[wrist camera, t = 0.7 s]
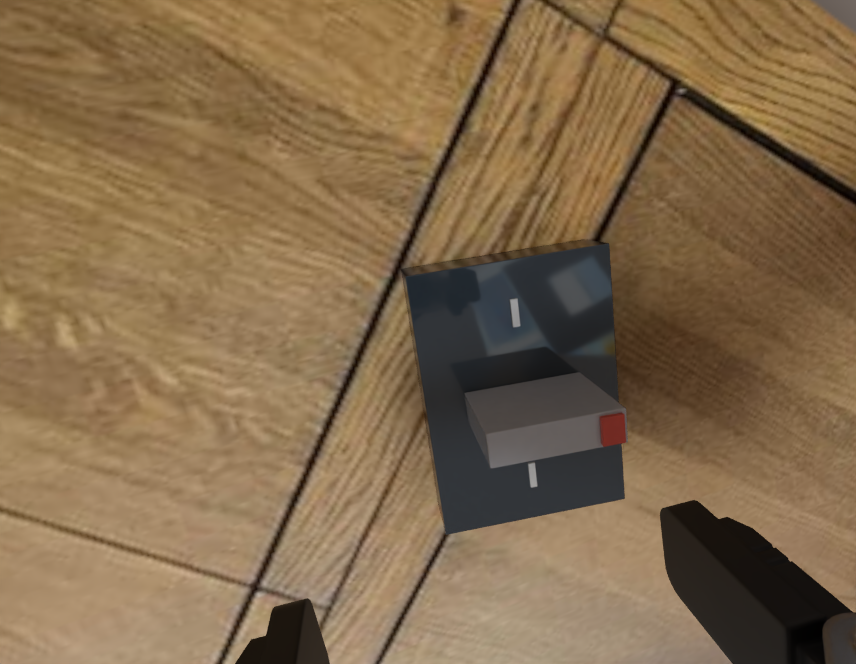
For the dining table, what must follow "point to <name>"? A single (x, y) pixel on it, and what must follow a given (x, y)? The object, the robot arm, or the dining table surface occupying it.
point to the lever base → (512, 372)
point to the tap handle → (544, 419)
